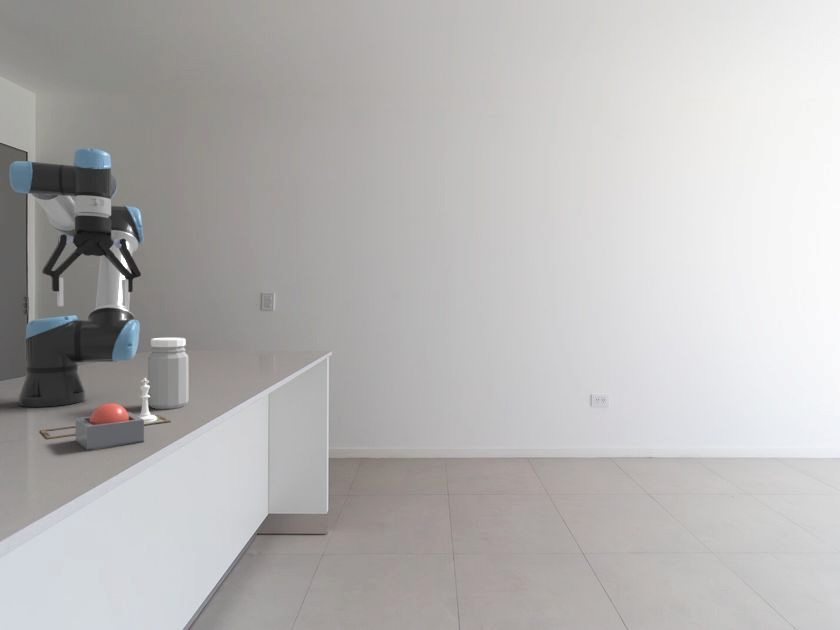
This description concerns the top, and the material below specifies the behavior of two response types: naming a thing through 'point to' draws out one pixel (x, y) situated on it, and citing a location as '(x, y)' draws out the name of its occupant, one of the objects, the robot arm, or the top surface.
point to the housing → (109, 433)
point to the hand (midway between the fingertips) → (93, 306)
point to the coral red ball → (108, 414)
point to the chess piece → (146, 404)
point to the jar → (168, 373)
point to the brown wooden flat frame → (158, 421)
